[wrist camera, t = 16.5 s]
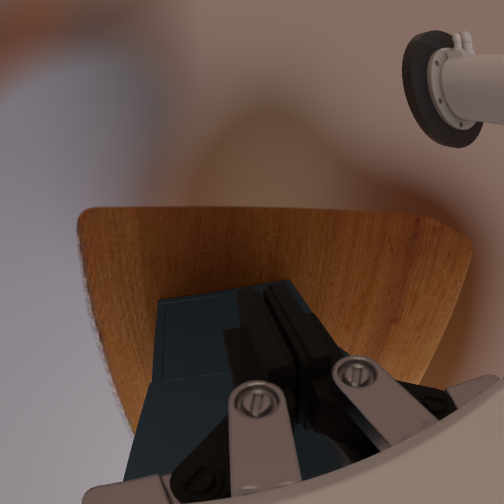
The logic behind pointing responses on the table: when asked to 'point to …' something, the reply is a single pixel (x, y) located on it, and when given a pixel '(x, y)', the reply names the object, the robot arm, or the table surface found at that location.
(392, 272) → the table surface
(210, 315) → the cool box
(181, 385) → the lid
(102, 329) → the table surface
